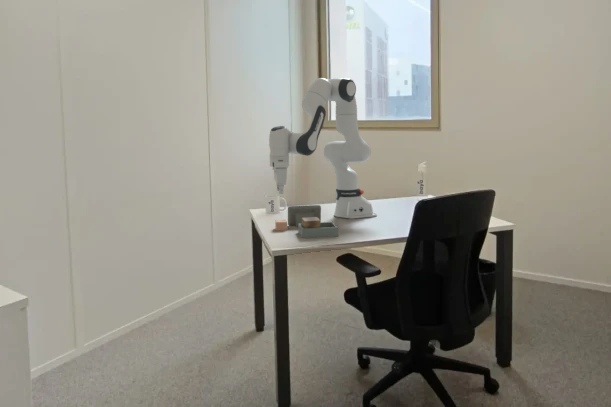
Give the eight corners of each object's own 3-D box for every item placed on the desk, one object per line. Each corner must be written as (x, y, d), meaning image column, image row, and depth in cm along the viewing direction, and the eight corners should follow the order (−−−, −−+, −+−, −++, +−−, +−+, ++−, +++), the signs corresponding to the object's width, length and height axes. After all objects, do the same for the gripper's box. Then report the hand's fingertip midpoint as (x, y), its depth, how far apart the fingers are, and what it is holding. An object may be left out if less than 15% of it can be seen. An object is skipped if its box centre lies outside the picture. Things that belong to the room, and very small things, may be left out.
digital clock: (322, 224, 278) (321, 203, 276) (320, 228, 269) (319, 206, 267) (289, 224, 280) (288, 203, 278) (286, 228, 271) (285, 206, 269)
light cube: (286, 230, 268) (285, 219, 267) (287, 232, 263) (287, 221, 262) (275, 230, 267) (275, 220, 266) (276, 233, 262) (276, 222, 262)
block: (317, 232, 257) (317, 217, 256) (320, 236, 250) (320, 220, 248) (302, 232, 256) (301, 217, 255) (304, 236, 249) (304, 221, 247)
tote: (333, 232, 260) (332, 221, 260) (338, 238, 249) (338, 227, 248) (298, 234, 258) (298, 223, 257) (302, 240, 247) (301, 229, 246)
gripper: (270, 160, 269) (271, 189, 272) (274, 164, 249) (275, 195, 252) (283, 159, 270) (284, 188, 273) (288, 164, 250) (289, 195, 253)
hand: (280, 192), depth 262 cm, fingers open, 8 cm apart
